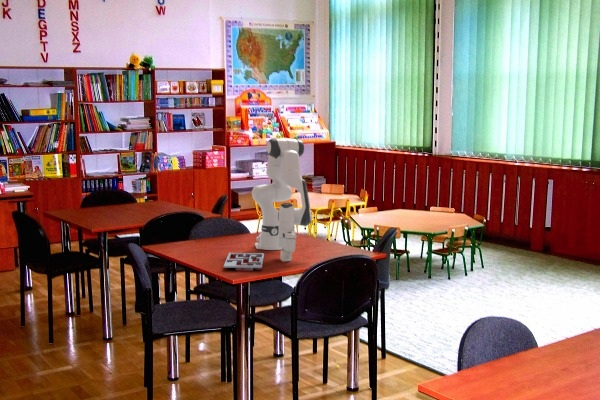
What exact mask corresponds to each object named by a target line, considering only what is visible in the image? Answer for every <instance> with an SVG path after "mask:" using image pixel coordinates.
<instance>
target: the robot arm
mask: <svg viewBox="0 0 600 400" xmlns="http://www.w3.org/2000/svg"><path fill="white" fill-rule="evenodd" d="M265 149H266V153H267V155H268V159H267V166H266V171H265V173H266V176H267V177H268V179H270V180H272V182H271V183H265V184H259V185H255V186H253V188H252V189H251V197H252V199H253V200H254V202H255V203H256V204H257V205H259V207H260V210H261V214H262V225H261V227H260V228H261V231H260V233H259V235H258V236H256V239H255V240H256V241H257V242H255V243H254V246H255V248H256V250H266V251H278V250H281V251H286V252H287V255H286V258H287V259H289V258H290V254H291V252H292V253H295V250H296V241H297V240H296V239H297V234H296V231H295V230H296V229H295V226H301V227H303V226H304V227H308V226H309V225H310V224H311V223H312V221H313V215H312V214H313V213H312V210H311V206H310V198H309V193H308V192H309V191H308V185H307V181H306V180H305V179H303V177H302V175H301V161H300V157H302V155H303V154H304V152H305V144H304V142H303V141H302V140H301V139H298V138H287V137H285V138H270V139H269V140H268V141H267V143H266V148H265ZM292 188H293V189H295V190H297V191H298V192H299V194H300V199H301V204H302V207H294V204H293V203H290V202H287V201H289V200H290V199H291V197H292V195H293V189H292ZM285 201H286V202H285ZM276 202H277V203H280V202H281V204H280V205H279V209H278V208H276V207H275V206H274V203H276ZM282 202H284V203H282Z"/></svg>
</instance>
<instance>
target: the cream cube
mask: <svg viewBox="0 0 600 400" xmlns="http://www.w3.org/2000/svg"><path fill="white" fill-rule="evenodd" d="M292 253H293V252H291V254H290V258H289V259H287V258H286V255H287V252H286V251H282V250H280V261H282V262H292V260H293V256H292V255H293V254H292Z"/></svg>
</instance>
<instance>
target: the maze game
mask: <svg viewBox="0 0 600 400" xmlns="http://www.w3.org/2000/svg"><path fill="white" fill-rule="evenodd" d="M264 257H265V253H264V252H263V253H262V252H229V253H228V255H227V257H226V260H225V262H224V264H223V268H226V269H228V268H231V269H232V268H233V269H234V268H235V271H236V272H253V271H254V270H255V271H261V269H262V268H263V262H264Z"/></svg>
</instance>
